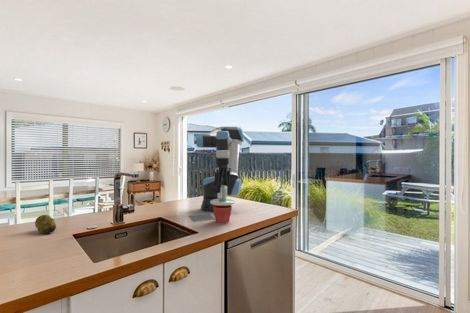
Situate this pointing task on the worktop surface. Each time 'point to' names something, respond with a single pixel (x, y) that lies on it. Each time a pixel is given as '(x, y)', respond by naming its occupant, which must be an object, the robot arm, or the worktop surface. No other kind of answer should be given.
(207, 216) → the mat
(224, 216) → the flower pot
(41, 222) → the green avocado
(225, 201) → the lid
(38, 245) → the worktop surface
